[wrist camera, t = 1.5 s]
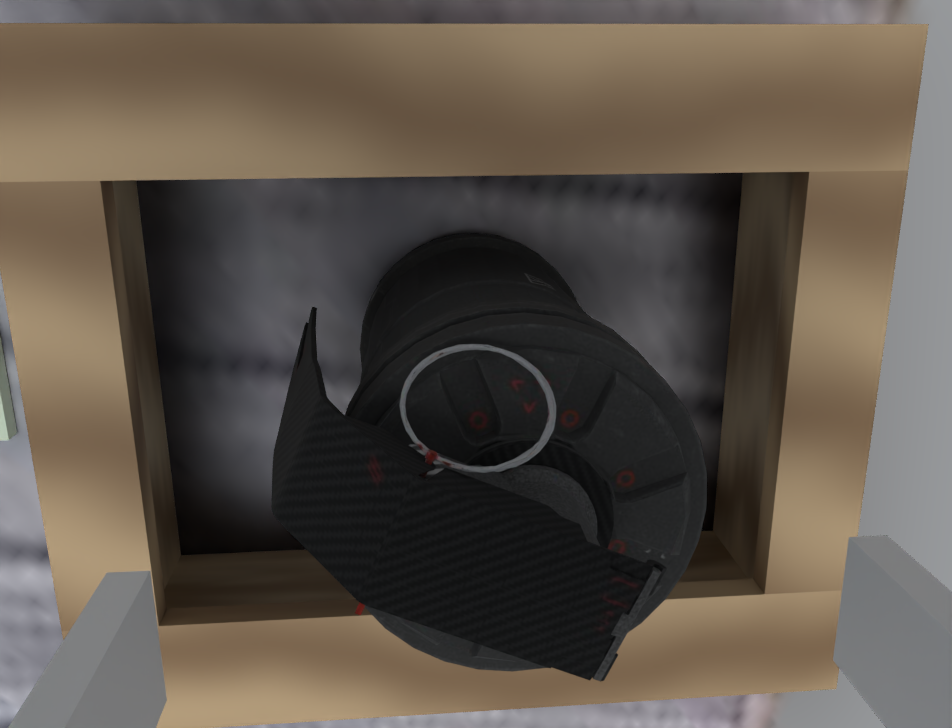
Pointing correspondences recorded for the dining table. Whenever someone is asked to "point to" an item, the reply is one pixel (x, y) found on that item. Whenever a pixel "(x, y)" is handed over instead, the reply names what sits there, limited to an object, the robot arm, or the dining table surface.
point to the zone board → (5, 403)
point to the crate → (458, 154)
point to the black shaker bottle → (493, 466)
